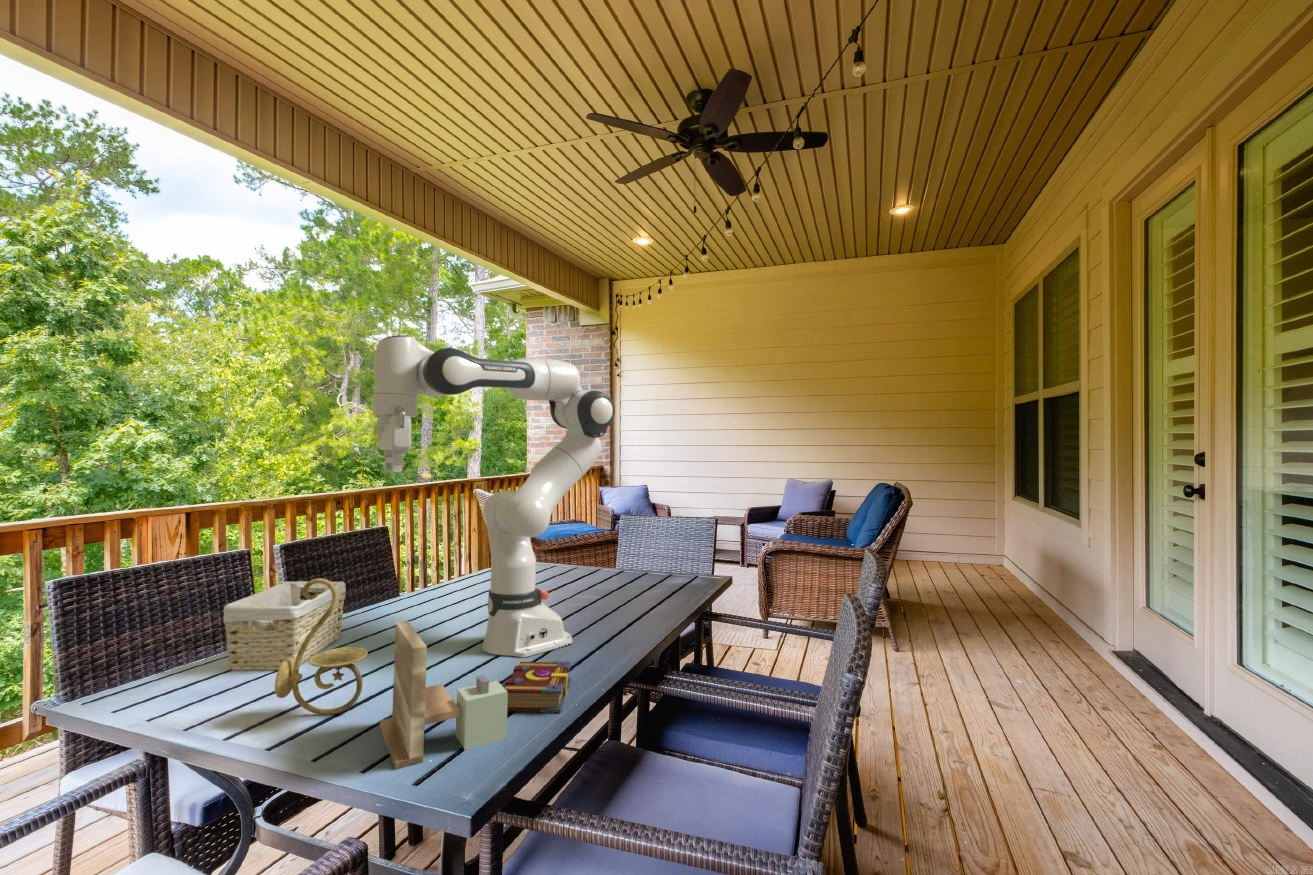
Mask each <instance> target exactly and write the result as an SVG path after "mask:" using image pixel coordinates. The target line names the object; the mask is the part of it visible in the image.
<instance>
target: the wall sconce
mask: <svg viewBox="0 0 1313 875" xmlns="http://www.w3.org/2000/svg"><path fill="white" fill-rule="evenodd" d="M332 582H333V581H331V580H328V579H326V578H323V577H322V578H321V577H320V578H313V579H311V580H309V582H308V583H306V584H305V586H304V587H303V590H302V592H301V594H302V596H303V597H304V598H305V600H312V599H315V598H316V597H317V596H318V595H319V593H318V592H314V594H310V592H308V588H309V587H310V586H311V585H313V584H316V583H321V584H324V585H326V586H328V587H329V588H330V590H331V592H332V603H331V605H330V607H329V609H328V610H327V611H326V613H325V614H324V615H323V616H322V618H321V619H320V620H319V621H318V623H317V624H316V625H315V626H314V627H313V629H312V630H311V631H310V633H309V634H308V635H307V637H306V638H305V640H304V642H303V644H302V646H301V648H300V650H299V652H298V654H297V657H296V660H295V661H294V659H291V658H288V659H286V660H284V661H283V663H282V664H281V666H280V667H279V670H277V672H276V676H275V679H274V680H275V681H274V682H275V683H274V692H275V695H276V697H277V698H278V699H283V698H286V697H287V696H288V695H289V694H290V693H291V692H292V693H293V697H294V699H295V701H296V702H297V704H298V705H300V707H301V708H303V709H304V710H306V711H308V712H310V713H313V714H316V715H322V716H324V715H325V716H326V715H327V716H328V715H329V716H330V715H334V714H335V715H336V714H339V713H342V712H344V711H346V710H348V709H349V708H351V707H352V706H353V705H354V704H355V703H356V702H357V701H358V700H359V698H360V696H361V694H362V690H363V677H362V673H361V671H360V669H359V668H358V667H357V666H356V665H355V663H357V662H359V661H362V660H363V659H364V658H366V657H367V655H368V651H367V650H366V648H361V647H354V646H352V647H351V646H350V647H347V646H346V647H337V648H332V649H327V650H324V651H323V650H322V651H319V653H317V654H315V655H313V656H312V657H311V658H309V659H308V663H309V664H310V665H311V666H313V667H316V668H318V669H317V670H316V672H315V674H314V683H315V685H316V686H317V688H318V689H321V690H328V689H332V688H333V687H334V686H335V684H334V683H331V682H330V683H323V681H322V680H321V676H322V674H323V672H325V671H326V670H329V669H334V670H336V672H335V673H331V674H332V676H333V681H334V682H335V681H343V679H342V677H343V676H344V675H345V673H343V672H340V671H341V669H343V668H344V669H345V668H347V669H349V670H350V671H352V673H353V675H354V677H355V679H356V689H355V690H356V691H355V693H354V695H353V696H352V698H351V699H350V700H349V701H348V702H347V703H345V704H343V705H341V706H338V707H334V708H333V707H332V708H319V707H316V706H313V705H312V704H310V703H308V702H307V701H306V700H305V699H304V698H303V697H302V695H301V693H300V688H299V682H300V681H301V680H302V679H303V674H302V673H299V672H300V667H301V665H300V663H301V660H302V657H303V654H304V652H305V650H306V648H307V646H308V644H309V642H310V641H311V639H312V638H313V636H314V635H315V633H316V632H317V631H318V630H319V628H320V627H321V626H322V625H323V623H324V622H325V621H326V620H327V619H328V617H329V616H330V615H331V613H332V612H333V610H334V609H335V607H336V605H337V601H338V592H337V589H336V587H335V586H334V584H333V583H332Z"/></svg>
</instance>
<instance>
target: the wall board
mask: <svg viewBox="0 0 1313 875" xmlns="http://www.w3.org/2000/svg"><path fill="white" fill-rule="evenodd" d="M394 629H395V632H394V633H395V634H394V656H393V657H394V661H393V684H392V685H393V689H392V713H391V714H392V716H391V717H390V718H385V719H381V720H379V728H380V730H381V731H380V732H381V733H382V736H383V739H384V741H385V744H386V748H387V750H388V752H389V755H390V758H391V761H392V764H393V767H394V769H395V770H397V769H402V768H406V767H409V766H414V765H417V764H420V763H423V762H424V744H425V743H424V741H425V725H429V724H434V723H439V722H443V721H447V720H451V719H456V717H460V709H459V708H458V706H457V702H455V701H454V699H453V697H452V696H451V695H450V693H449V692H448V690H447V689H446V688H445V685H444V684H443V683H441V684H436V685H431V686H427V687H426V684H427V682H426V681H427V659H428V658H427V654H428V646H427V645H426V644H425V642H424V641H423V639H422V638H421V637H420V635H419V634H418V632H417V631H416V630H415V628H414V627H413V626H412V624H411V623H410V621H408V620H403V621H395V628H394Z"/></svg>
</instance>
